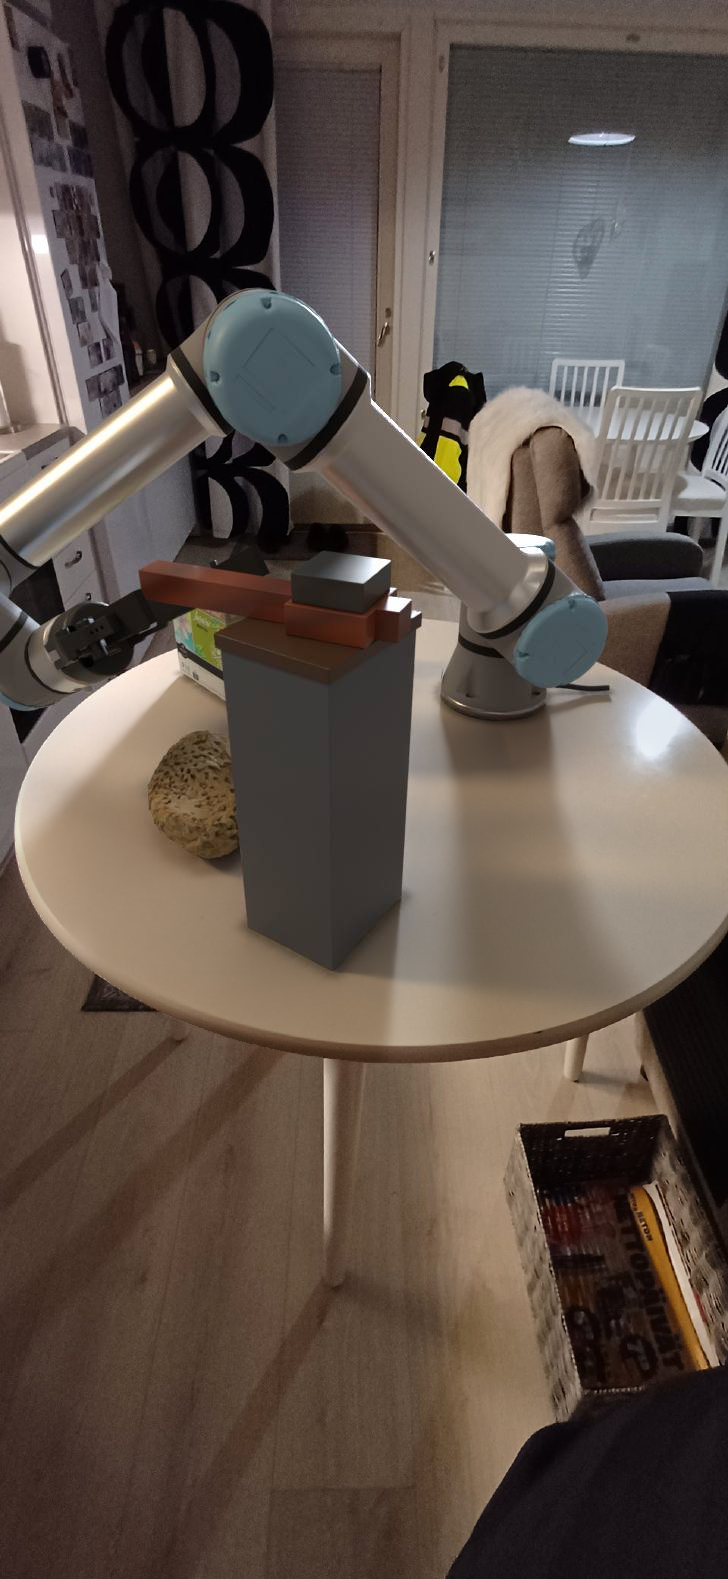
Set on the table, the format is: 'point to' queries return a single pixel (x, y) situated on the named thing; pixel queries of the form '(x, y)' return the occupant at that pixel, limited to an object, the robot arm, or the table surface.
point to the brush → (295, 597)
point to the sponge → (196, 795)
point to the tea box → (202, 647)
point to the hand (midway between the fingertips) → (207, 581)
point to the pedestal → (318, 780)
